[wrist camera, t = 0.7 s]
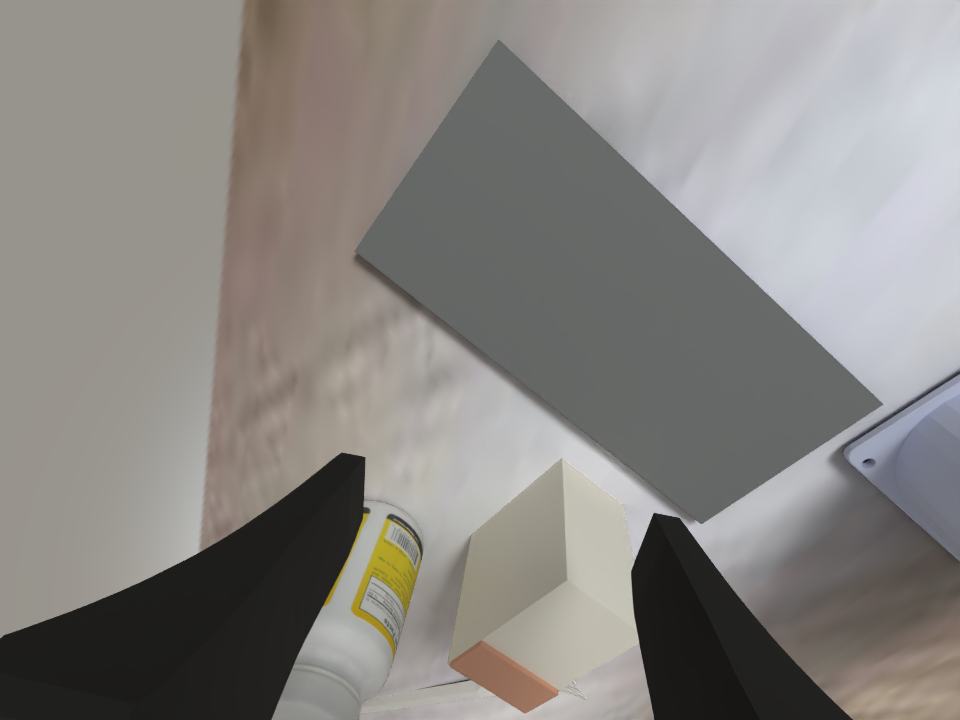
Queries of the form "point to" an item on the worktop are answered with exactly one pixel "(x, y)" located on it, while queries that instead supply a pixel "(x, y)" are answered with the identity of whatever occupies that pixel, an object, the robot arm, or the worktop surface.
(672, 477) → the rubber mat
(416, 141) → the worktop surface
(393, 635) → the supplement bottle
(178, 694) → the robot arm
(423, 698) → the fork
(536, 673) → the card box
